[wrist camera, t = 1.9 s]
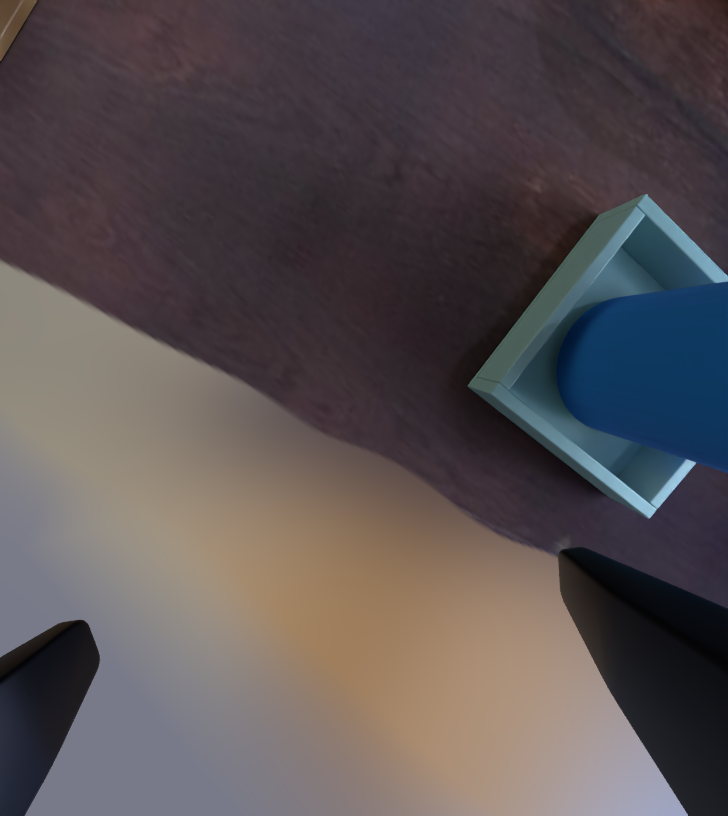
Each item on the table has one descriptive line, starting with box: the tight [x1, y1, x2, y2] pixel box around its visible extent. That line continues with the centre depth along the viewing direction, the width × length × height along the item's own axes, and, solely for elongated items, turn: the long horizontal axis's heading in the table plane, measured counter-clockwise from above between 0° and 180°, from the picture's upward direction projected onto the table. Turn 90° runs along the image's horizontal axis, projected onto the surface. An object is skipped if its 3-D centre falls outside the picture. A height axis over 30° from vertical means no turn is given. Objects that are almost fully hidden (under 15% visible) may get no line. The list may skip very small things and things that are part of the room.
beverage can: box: [556, 281, 728, 473], centre depth 14 cm, size 6×6×12 cm
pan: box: [468, 194, 728, 518], centre depth 19 cm, size 10×10×3 cm
